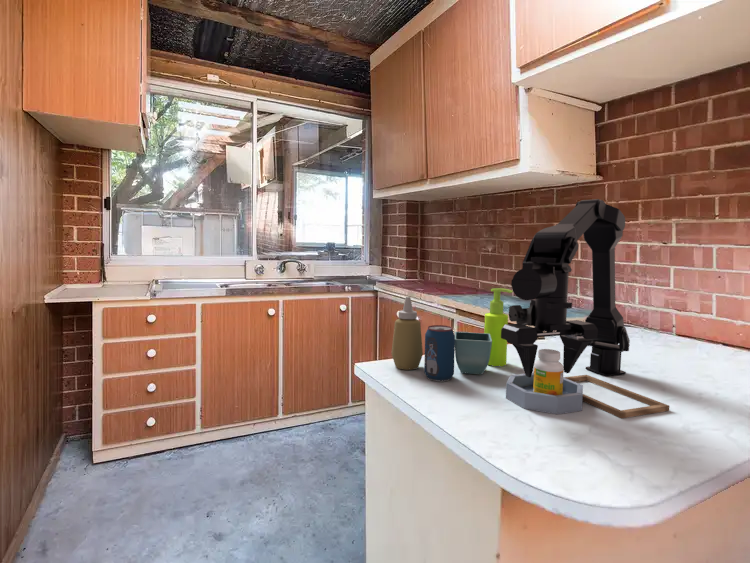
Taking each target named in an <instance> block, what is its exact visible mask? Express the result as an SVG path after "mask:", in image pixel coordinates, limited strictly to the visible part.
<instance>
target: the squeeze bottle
mask: <svg viewBox="0 0 750 563" xmlns="http://www.w3.org/2000/svg"><path fill="white" fill-rule="evenodd" d="M417 318H418V312H417V311H416V310H413V304H412V299H411V296H405V299H404V304H403V308H402V310H399V311H398V319H396V320H395V321H394V326H393V336H392V345H391V346H392V347H391V357H392V360H393V362H394V366H395V368H397V369H399V370H407V371H409V370H410V371H411V370H416V369H418V368H419V366H420V363H421V360H422V358H423V354H424V352H423V338H422V328H421V327H422V326H421V321H420V320H419V319H417Z"/></svg>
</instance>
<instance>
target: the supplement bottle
mask: <svg viewBox="0 0 750 563" xmlns="http://www.w3.org/2000/svg"><path fill="white" fill-rule="evenodd" d="M537 352H538V353H537V356H538V359H537V360H535V363H534V368H533V373H534V382H533V392H537V393H543V394H549V395H562V394H563V377H564V367H563V363H562V362H560V360H561V352H560V351H558V350H557V349H551V348H541V349H539V350H537Z"/></svg>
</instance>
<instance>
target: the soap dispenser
mask: <svg viewBox="0 0 750 563" xmlns="http://www.w3.org/2000/svg"><path fill="white" fill-rule="evenodd" d="M490 292H493V299H491V300H490V301H489V312H487V313H485V314H484V330H483V333H487V334H490V336H491V339H492V346H491V352H490V359H489V363H488V365H487V366H489V365H493V366H492V367H495V366H501V367H505V366H507V359H508V358H507V357H508V356H507V354H508V342H507V340H505V339H502V338H501V329H502V328H503V326H504V325H505V324H509V314H506V313H504V301H503V300H502V299H501V293H503V292H504V293H509V294H512V293H514V292H513V290H512V289H508V288H503V287H502V288H498V287H497V288H491V289H490ZM504 365H505V366H504Z"/></svg>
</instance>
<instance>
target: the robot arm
mask: <svg viewBox="0 0 750 563" xmlns="http://www.w3.org/2000/svg"><path fill="white" fill-rule="evenodd" d="M625 228H626V216H625V215H624V214H623V212H622V211H621V209H619V208H617V207H615V206H612V205H610V204H607V203H606V202H605V201H604V200H603V199H598V198H597V199H593V198H592V199H582V200H580V201H577V202H576V203H575V207H574V208H573V209H572V210H570V212H568V213H567V214H566V215H565V216H564V217H563V218H562V220H560V221H559V222H558V223H557V224H556V225H552V226H548V227H544V228H543V229H540V230H539V231H537V232H536V233H535V234H534V236H533V238H532V239H531V241H530V244H529V246H528V249H527V250H526V254H525V256H524V259H523V260H522V263H521V264H522V268H521V269H519V270H517V271H516V272H515V273H514V275H513V277H512V279H511V283H510V284H511V290H512V291H513V292H512V293H513V294H514V295H515V296H516V297H517V298H519V299H521V300H523V301H530V302H529V307H524V308H523V307H522V305H520V304H515V305H511V306H509V307H508V321H510V322H515V323H508V324H505V325H504V326H503V328H502V329H501V338H502V339H505V340H507V344H510V345H512V346H513V347H514V348H515V350H516V351H517V354H518V357H519V360H520V363H521V365H522V369H523V372H524V374H525V375H526V376H527V377H531V375H532V373H534V364H535V362H536V356H537V354H538V353H537V352H538V346H539V345H538V344H535V343H536V341H537V340H538V338H543V337H544V338H545V337H558V336H559V338H560V340H561V342H562V344H563V354H562V356H563V358H562V359H563V360H562V365H563V367H564V371H563V373H566V374H569V373H571V370H573V368H574V366H575V365H576V363H577V362H578V360H579V358H580V357H581V355H582V354H583V352H584V351H585V350H586V349H587V347H591V353H590V357H589V358H590V362H589V366H585V369H586V370H588V371H590V372H593V373H597V374H599V375H602V376H605V377H609V376H619V375H626V374H627V372H626V370H622V369H621V365H622V353H624V352H629V351H630V344H631V340H630V338H629V334H628V331H627V328H626V326H625V325H624V324H625V323H624V316H623V315H622V314H621V313H620V311H619V309H618V308H617V307H616V253H615V251H616V247H617V245H618V244H619V242H620V240H621V239H622V237H623V236H624V234H623V232H624V230H625ZM582 236H583V240H584V241H585V243H586V245H587V246H588V247H589V248H590V249H591V260H592V262H591V263H592V264H591V266H592V273H591V274H592V302H593V304H592V305H593V308H592V310H591V311H590V314H589V315H588V316H587V317H586V318H585V320H584V321H582V320H578V319H574V320H572V319H571V320H567V314H568V309H572V308H573V302H569V301H568V297H569V296H568V294H569V273H572V271H573V269H572V268H571V266H570V265H569V264H571V263H572V262H573V259H574V257H575V255H576V254H577V251H578V250H579V243H578V240H579V239H580V238H581V237H582Z"/></svg>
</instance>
